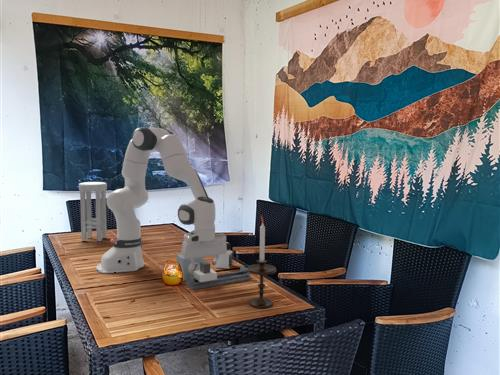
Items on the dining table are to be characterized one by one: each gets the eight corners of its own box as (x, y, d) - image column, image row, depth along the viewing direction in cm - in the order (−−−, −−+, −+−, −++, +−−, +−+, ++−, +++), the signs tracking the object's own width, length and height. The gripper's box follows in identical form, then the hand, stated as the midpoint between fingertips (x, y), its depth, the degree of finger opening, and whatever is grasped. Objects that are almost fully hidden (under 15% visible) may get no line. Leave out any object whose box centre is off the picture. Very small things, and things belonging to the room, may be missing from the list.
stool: (102, 243, 262) (101, 184, 258) (76, 242, 262) (74, 184, 258) (111, 237, 277) (109, 182, 273) (86, 236, 277) (85, 181, 273)
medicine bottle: (229, 269, 215) (229, 244, 213) (215, 267, 216) (215, 244, 215) (232, 264, 222) (232, 241, 220) (219, 263, 223) (219, 240, 222)
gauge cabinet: (184, 281, 195) (184, 259, 194) (176, 275, 203) (176, 254, 202) (204, 277, 201) (204, 256, 199) (196, 272, 208) (196, 251, 207)
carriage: (200, 282, 187) (200, 266, 186) (193, 277, 193) (193, 262, 192) (217, 279, 191) (217, 263, 190) (210, 275, 197) (210, 259, 196)
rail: (192, 289, 185) (192, 279, 184) (185, 284, 192) (185, 274, 191) (250, 279, 199) (250, 270, 198) (241, 274, 206) (241, 265, 205)
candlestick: (254, 311, 163) (255, 218, 159) (242, 301, 173) (243, 213, 169) (280, 307, 167) (282, 216, 163) (267, 297, 177) (269, 211, 173)
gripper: (223, 231, 197) (222, 261, 199) (180, 235, 187) (179, 267, 189) (229, 234, 192) (228, 265, 194) (185, 238, 182) (185, 271, 183)
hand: (204, 266), depth 191 cm, fingers open, 8 cm apart
